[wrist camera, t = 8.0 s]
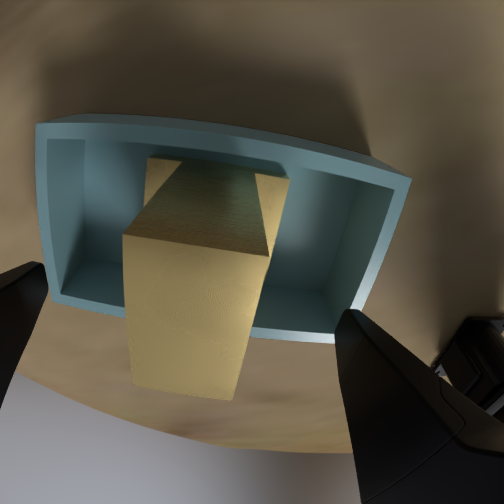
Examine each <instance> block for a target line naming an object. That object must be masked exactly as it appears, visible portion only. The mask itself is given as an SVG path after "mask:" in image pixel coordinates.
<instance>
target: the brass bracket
mask: <svg viewBox="0 0 504 504" xmlns="http://www.w3.org/2000/svg"><path fill="white" fill-rule="evenodd" d="M289 183H290V179H289V177H288V175H287V174H283V173H278V172H273V171H268V170H263V169H257V168H252V167H246V166H240V165H234V164H228V163H222V162H216V161H209V160H202V159H195V158H188V157H180V156H173V155H164V154H156V153H153V154H152V155H151V156H149V157H148V158H147V168H146V180H145V193H144V207H143V209H142V210H141V211H140V212H139V214H138V215H137V216H136V218H135V219H134V220H133V221H132V223H131V224H130V225H129V227H128V228H127V229H126V230H125V232H124V233H123V281H124V300H125V314H126V327H127V337H128V347H129V356H130V364H131V371H132V379H133V385H135V386H140V387H144V388H150V389H155V390H160V391H166V392H172V393H178V394H184V395H191V396H198V397H206V398H214V399H223V400H232V398H233V395H234V391H235V387H236V384H237V380H238V376H239V373H240V369H241V365H242V361H243V358H244V354H245V350H246V347H247V343H248V339H249V335H250V331H251V328H252V324H253V320H254V316H255V312H256V308H257V305H258V301H259V297H260V293H261V289H262V285H263V281H264V280H265V279H266V275H267V271H268V267H269V263H270V259H271V255H272V252H273V248H274V244H275V240H276V236H277V232H278V228H279V224H280V220H281V216H282V211H283V207H284V203H285V199H286V195H287V191H288V187H289Z"/></svg>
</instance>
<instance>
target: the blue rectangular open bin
mask: <svg viewBox="0 0 504 504" xmlns="http://www.w3.org/2000/svg"><path fill="white" fill-rule="evenodd" d="M153 153H156V154H164V155H173V156H180V157H188V158H195V159H202V160H209V161H216V162H222V163H228V164H234V165H240V166H246V167H252V168H257V169H263V170H268V171H273V172H278V173H283V174H287V175H288V177H289V179H290V183H289V187H288V191H287V195H286V199H285V203H284V207H283V211H282V216H281V220H280V224H279V228H278V232H277V236H276V240H275V244H274V248H273V252H272V255H271V259H270V263H269V267H268V271H267V275H266V279H265V280H264V281H263V285H262V289H261V293H260V297H259V301H258V305H257V308H256V312H255V316H254V320H253V324H252V328H251V331H250V335H249V337H258V338H268V339H279V340H290V341H303V342H318V343H335V339H334V332H335V329H336V326H337V324H338V322H339V320H340V317H341V315H342V313H343V311H344V310H345V309H347V308H348V309H358V310H360V311H361V310H362V308H363V306H364V304H365V302H366V299H367V297H368V295H369V293H370V290H371V288H372V286H373V283H374V281H375V279H376V276H377V274H378V272H379V269H380V267H381V264H382V262H383V259H384V257H385V254H386V252H387V249H388V247H389V244H390V241H391V239H392V236H393V234H394V231H395V228H396V225H397V223H398V220H399V217H400V214H401V211H402V208H403V205H404V202H405V199H406V196H407V193H408V190H409V187H410V184H411V181H412V178H410V177H408V176H407V175H405V174H403V173H401V172H400V171H398V170H396V169H394V168H392V167H391V166H389V165H387V164H385V163H383V162H381V161H379V160H377V159H376V158H374V157H372V156H368V155H365V154H361V153H358V152H354V151H350V150H347V149H343V148H339V147H335V146H331V145H327V144H323V143H319V142H315V141H310V140H306V139H302V138H297V137H292V136H288V135H283V134H278V133H273V132H267V131H262V130H257V129H251V128H245V127H239V126H232V125H226V124H219V123H212V122H204V121H196V120H187V119H178V118H167V117H156V116H142V115H124V114H85V113H82V114H77V115H72V116H67V117H62V118H57V119H52V120H48V121H44V122H40V123H36V130H35V175H36V195H37V208H38V218H39V227H40V236H41V243H42V250H43V256H44V262H45V268H46V273H47V279H48V284H49V288H50V293H51V298H52V302H56V303H60V304H64V305H68V306H72V307H76V308H81V309H85V310H89V311H94V312H99V313H103V314H108V315H113V316H118V317H123V318H126V314H125V300H124V281H123V233H124V232H125V230H126V229H127V228H128V227H129V225H130V224H131V223H132V221H133V220H134V219H135V218H136V216H137V215H138V214H139V212H140V211H141V210H142V209H143V207H144V193H145V180H146V168H147V158H148V157H149V156H151V155H152V154H153Z"/></svg>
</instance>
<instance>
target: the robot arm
mask: <svg viewBox="0 0 504 504" xmlns="http://www.w3.org/2000/svg"><path fill="white" fill-rule="evenodd" d="M47 293H48V282H47V277H46V272H45V267H44V265H43V264H42V263H39V262H34V261H31V262H28V263H26V264H23V265H21V266H19V267H16V268H14V269H11V270H9V271H7V272H4V273H2V274H0V408H1V405H2V403H3V400H4V397H5V394H6V392H7V389H8V386H9V384H10V382H11V379H12V377H13V374H14V372H15V369H16V367H17V365H18V362H19V360H20V358H21V356H22V353H23V351H24V349H25V347H26V345H27V343H28V340H29V338H30V336H31V334H32V331H33V329H34V326H35V324H36V321H37V318H38V316H39V313H40V311H41V308H42V306H43V303H44V301H45V299H46V296H47ZM503 330H504V318H497V317H469V318H467V319H466V320H465V321H464V323H463V325H462V326H461V328H460V330H459V331H458V333H457V334H456V336H455V337H454V339H453V340H452V342H451V343H450V345H449V346H448V348H447V349H446V351H445V352H444V354H443V355H442V357H441V358H440V360H439V361H438V362H437V364H436V365H435V367H434V368H433V369H431V368H430V367H428V366H427V365H426V364H425V363H424V362H422V361H421V360H420V359H419V358H418V357H416V356H415V355H414V354H413V353H411V352H410V351H409V350H408V349H407V348H405V347H404V346H403V345H402V344H400V343H399V342H398V341H397V340H396V339H394V338H393V337H392V336H391V335H389V334H388V333H387V332H386V331H384V330H383V329H382V328H381V327H380V326H378V325H377V324H376V323H375V322H373V321H372V320H371V319H370V318H368V317H367V316H366V315H365V314H363V313H362V312H361V311H360V310H358V309H348V308H347V309H345V310H344V311H343V313H342V315H341V317H340V320H339V322H338V324H337V326H336V329H335V332H334V339H335V348H336V358H337V368H338V377H339V383H340V388H341V393H342V398H343V403H344V407H345V412H346V417H347V423H348V428H349V433H350V438H351V444H352V449H353V455H354V461H355V466H356V472H357V479H358V485H359V491H360V498H361V503H362V504H504V337H503V336H502V335H501V333H502V332H503ZM445 375H447V377H448V379H449V381H450V382H451V384H452V386H451V385H450V384H449V383H448V382H446V381H445V380H444V379H443V378H442V377H439V376H445Z"/></svg>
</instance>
